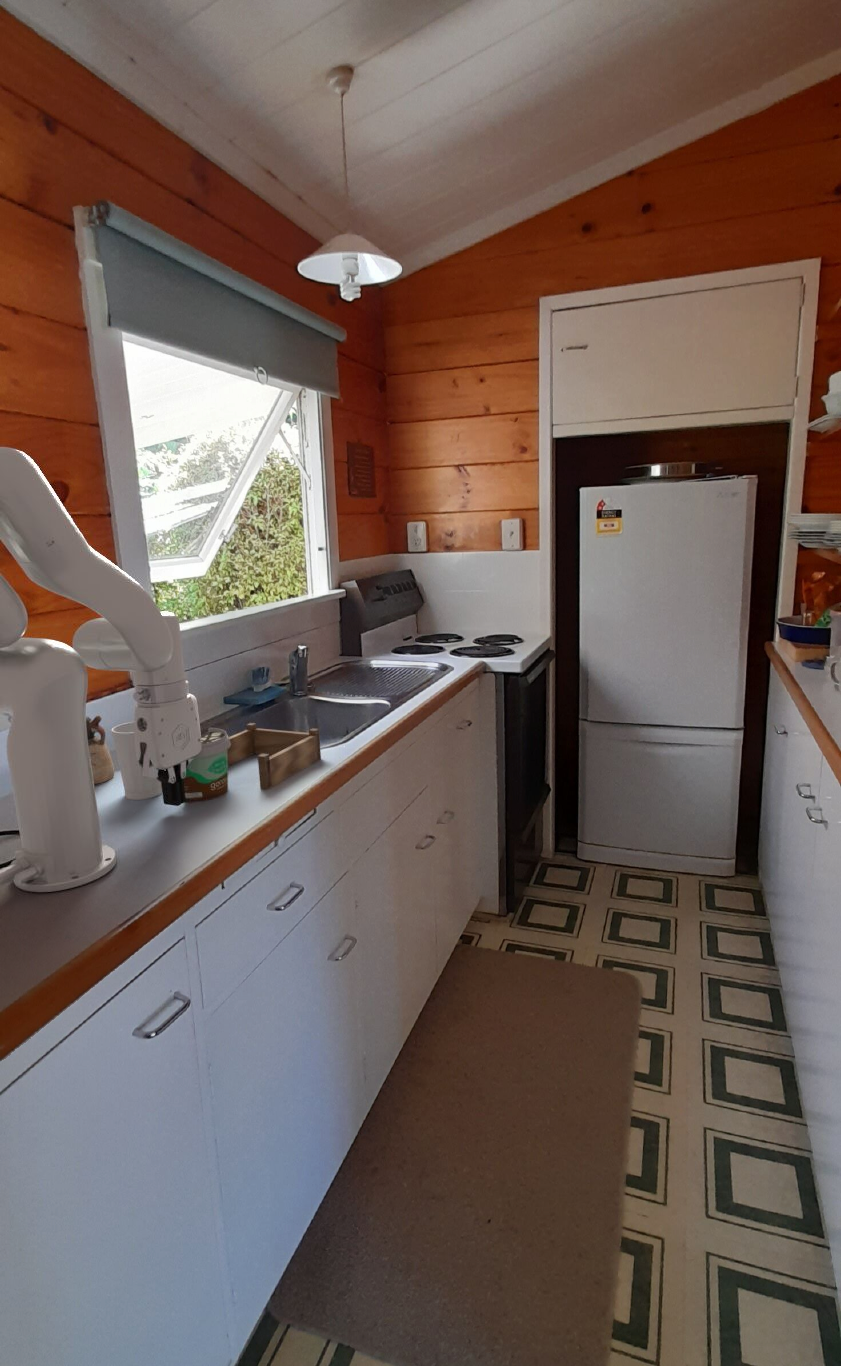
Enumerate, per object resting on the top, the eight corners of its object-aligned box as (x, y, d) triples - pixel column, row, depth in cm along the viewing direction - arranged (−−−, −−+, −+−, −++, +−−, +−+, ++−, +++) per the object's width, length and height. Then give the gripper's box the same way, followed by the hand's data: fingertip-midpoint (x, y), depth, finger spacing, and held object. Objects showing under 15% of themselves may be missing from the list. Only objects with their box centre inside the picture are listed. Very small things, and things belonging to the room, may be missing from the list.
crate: (267, 789, 128) (264, 756, 126) (193, 780, 134) (190, 748, 133) (320, 758, 144) (318, 728, 143) (252, 751, 150) (250, 722, 149)
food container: (214, 806, 121) (208, 748, 119) (180, 805, 122) (174, 747, 120) (246, 781, 133) (241, 727, 130) (215, 780, 134) (209, 726, 132)
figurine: (84, 772, 141) (76, 712, 138) (121, 772, 140) (113, 710, 138) (65, 786, 134) (56, 722, 131) (104, 785, 133) (95, 721, 131)
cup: (137, 784, 133) (129, 720, 131) (177, 785, 131) (169, 720, 129) (110, 800, 125) (101, 732, 123) (152, 802, 124) (144, 733, 121)
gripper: (145, 705, 106) (160, 824, 110) (212, 682, 119) (223, 789, 123) (105, 702, 109) (121, 818, 113) (175, 680, 122) (187, 785, 126)
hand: (174, 803), depth 118 cm, fingers closed
